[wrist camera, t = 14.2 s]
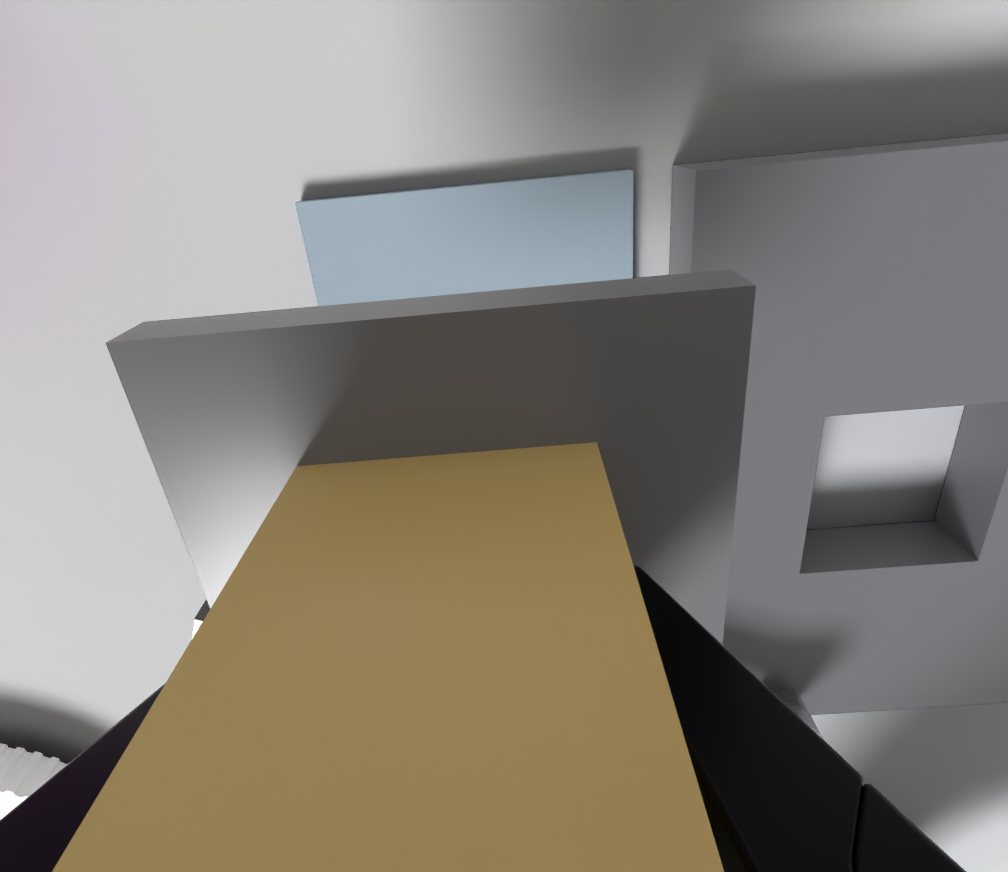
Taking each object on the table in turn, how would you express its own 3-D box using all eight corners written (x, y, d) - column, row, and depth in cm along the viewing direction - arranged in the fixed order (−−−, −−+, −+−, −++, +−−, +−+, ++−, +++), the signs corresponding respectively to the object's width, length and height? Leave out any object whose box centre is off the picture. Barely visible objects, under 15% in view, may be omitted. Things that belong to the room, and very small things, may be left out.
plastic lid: (261, 849, 28) (240, 914, 25) (60, 943, 31) (25, 1008, 29) (-14, 662, 22) (-72, 723, 20) (-219, 801, 26) (-287, 865, 24)
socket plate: (997, 653, 22) (1040, 700, 20) (656, 676, 22) (670, 723, 21) (1195, 114, 14) (1294, 113, 12) (672, 164, 15) (695, 170, 13)
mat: (629, 460, 18) (631, 467, 18) (362, 482, 19) (360, 489, 18) (630, 169, 15) (633, 170, 14) (300, 200, 15) (295, 202, 15)
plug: (667, 602, 12) (897, 1267, 5) (320, 626, 13) (80, 1289, 5) (682, 238, 9) (1321, 643, 2) (218, 280, 9) (-670, 770, 2)
